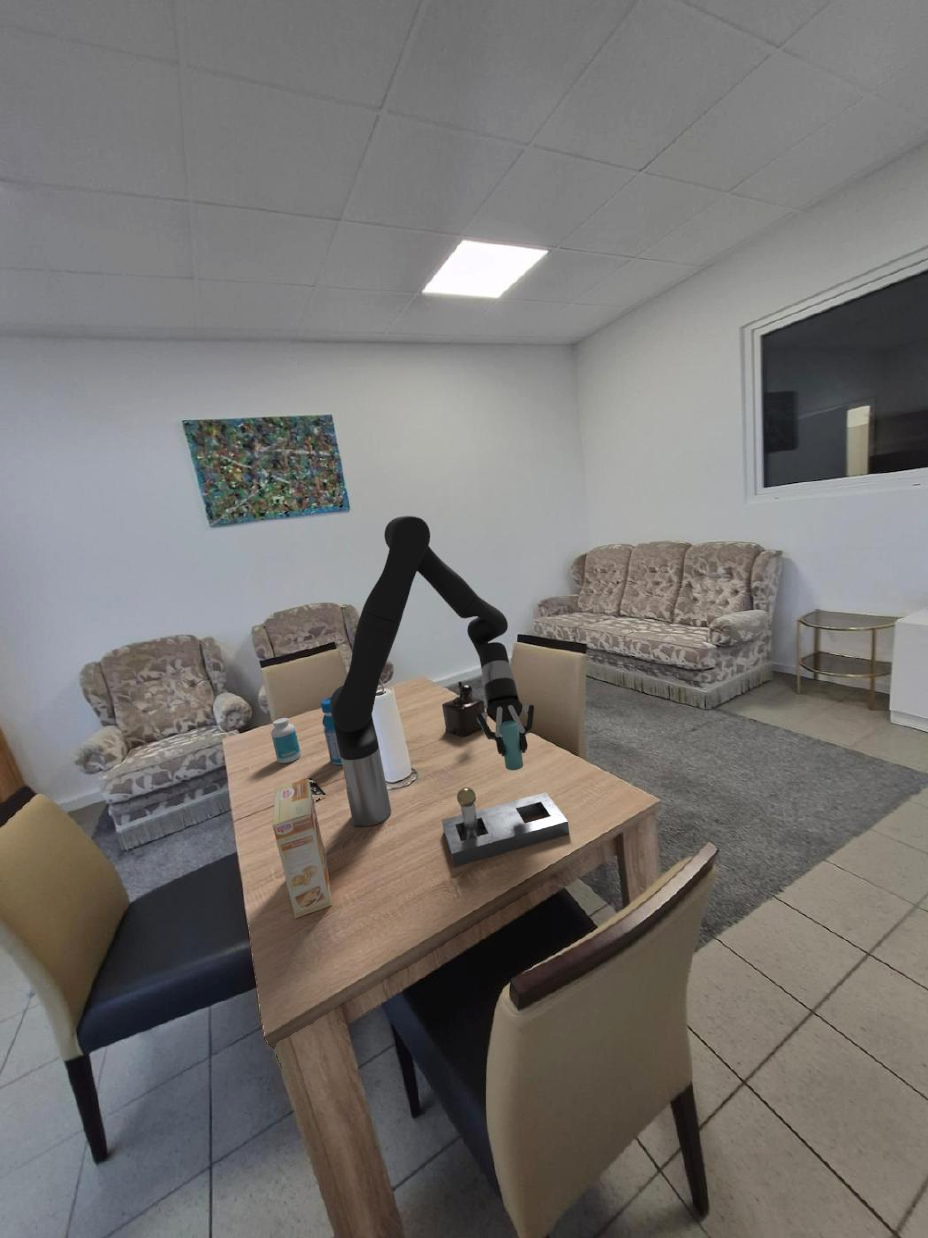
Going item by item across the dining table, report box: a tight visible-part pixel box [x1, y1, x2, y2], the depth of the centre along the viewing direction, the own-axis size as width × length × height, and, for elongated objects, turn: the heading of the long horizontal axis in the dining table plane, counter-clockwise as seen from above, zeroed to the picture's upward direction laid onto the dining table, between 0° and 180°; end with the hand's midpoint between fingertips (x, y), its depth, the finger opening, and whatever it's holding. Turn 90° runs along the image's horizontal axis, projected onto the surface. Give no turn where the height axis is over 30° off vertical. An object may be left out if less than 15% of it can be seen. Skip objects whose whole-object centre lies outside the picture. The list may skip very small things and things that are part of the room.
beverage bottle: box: [320, 696, 342, 766], centre depth 149 cm, size 8×8×20 cm
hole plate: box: [441, 786, 570, 868], centre depth 102 cm, size 25×12×12 cm, turn 103°
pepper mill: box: [442, 681, 486, 737], centre depth 157 cm, size 16×11×18 cm
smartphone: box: [307, 777, 327, 802], centre depth 134 cm, size 7×1×15 cm
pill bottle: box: [270, 717, 302, 764], centre depth 156 cm, size 8×7×14 cm
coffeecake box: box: [271, 778, 333, 920], centre depth 94 cm, size 15×7×20 cm, turn 20°
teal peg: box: [500, 721, 524, 771], centre depth 106 cm, size 4×4×10 cm
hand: (513, 753), depth 105 cm, fingers closed on teal peg, 4 cm apart
